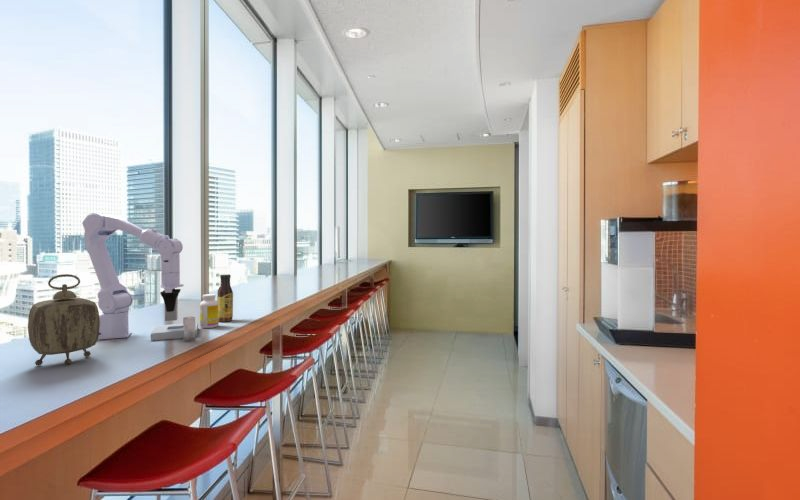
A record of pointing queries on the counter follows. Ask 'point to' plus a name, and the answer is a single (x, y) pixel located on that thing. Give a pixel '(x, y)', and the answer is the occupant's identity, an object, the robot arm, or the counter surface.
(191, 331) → the round bit
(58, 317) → the tabletop clock
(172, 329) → the bore block
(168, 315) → the square bit
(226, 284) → the sauce bottle
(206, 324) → the supplement bottle
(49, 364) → the counter surface
